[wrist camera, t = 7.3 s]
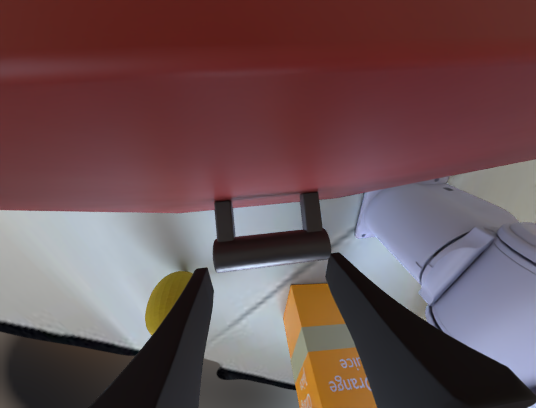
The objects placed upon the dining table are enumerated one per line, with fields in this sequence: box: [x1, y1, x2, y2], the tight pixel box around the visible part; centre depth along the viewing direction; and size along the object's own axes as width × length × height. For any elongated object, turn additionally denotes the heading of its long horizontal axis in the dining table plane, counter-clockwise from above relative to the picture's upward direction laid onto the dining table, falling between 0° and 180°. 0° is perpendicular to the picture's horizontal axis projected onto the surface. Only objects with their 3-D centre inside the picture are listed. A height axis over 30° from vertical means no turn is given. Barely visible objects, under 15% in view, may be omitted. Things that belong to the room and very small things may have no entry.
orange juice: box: [283, 283, 377, 408], centre depth 22 cm, size 8×9×20 cm
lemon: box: [145, 271, 193, 335], centre depth 21 cm, size 6×6×8 cm
